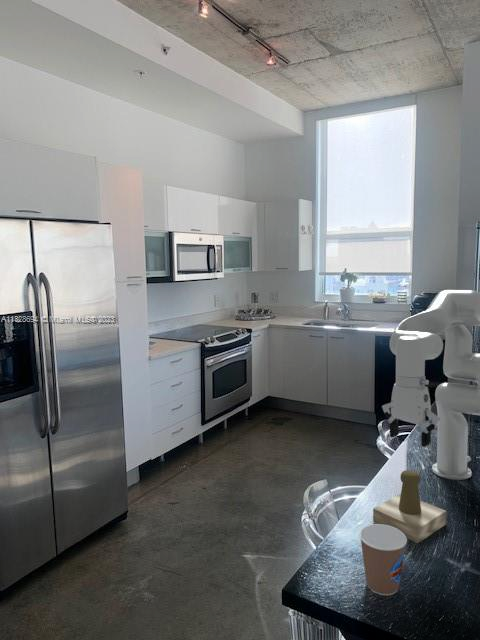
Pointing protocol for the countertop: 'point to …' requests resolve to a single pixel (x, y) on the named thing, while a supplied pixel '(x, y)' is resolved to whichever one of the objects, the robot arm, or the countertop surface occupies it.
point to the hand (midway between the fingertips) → (409, 440)
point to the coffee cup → (382, 557)
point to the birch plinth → (410, 519)
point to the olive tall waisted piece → (410, 493)
